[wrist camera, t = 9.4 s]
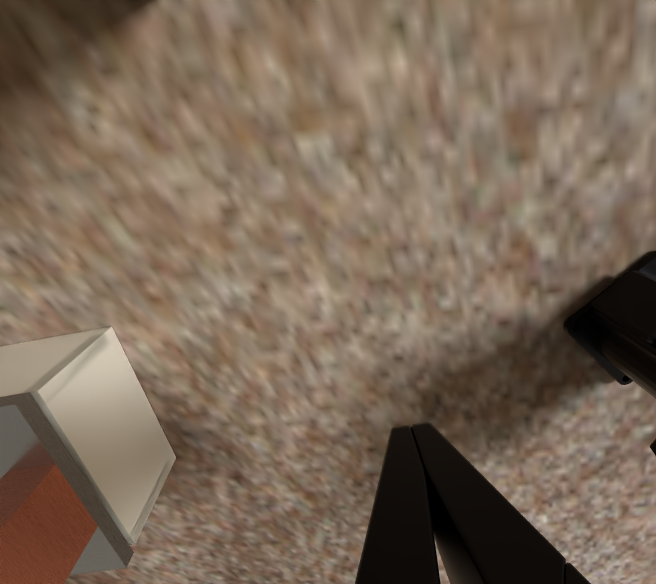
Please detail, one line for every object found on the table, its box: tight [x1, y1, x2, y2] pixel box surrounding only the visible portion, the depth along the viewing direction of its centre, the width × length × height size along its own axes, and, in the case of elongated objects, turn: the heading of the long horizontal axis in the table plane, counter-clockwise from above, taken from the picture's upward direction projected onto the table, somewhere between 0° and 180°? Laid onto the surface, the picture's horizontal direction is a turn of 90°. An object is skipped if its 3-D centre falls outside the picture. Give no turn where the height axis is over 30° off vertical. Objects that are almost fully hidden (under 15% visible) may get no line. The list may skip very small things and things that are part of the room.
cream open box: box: [0, 327, 176, 545], centre depth 21 cm, size 12×11×6 cm
